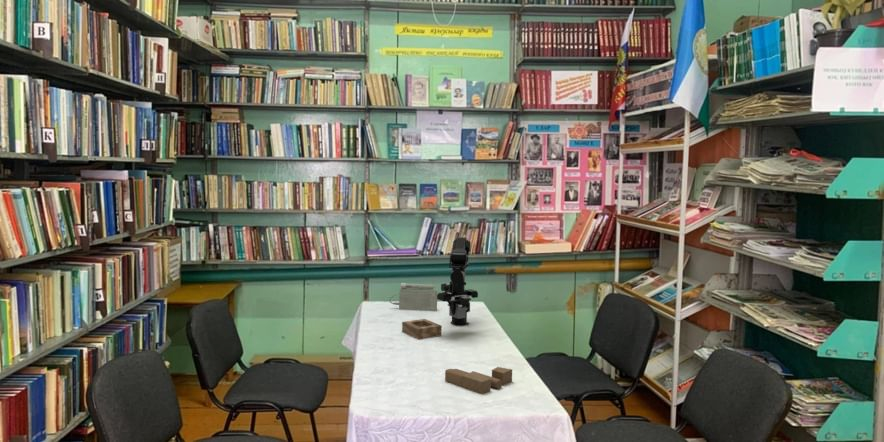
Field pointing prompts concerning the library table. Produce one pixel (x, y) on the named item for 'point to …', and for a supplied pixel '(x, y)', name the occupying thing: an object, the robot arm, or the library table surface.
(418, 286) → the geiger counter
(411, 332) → the pocket plate
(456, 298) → the robot arm
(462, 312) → the block
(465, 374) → the wooden block set
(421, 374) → the library table surface
